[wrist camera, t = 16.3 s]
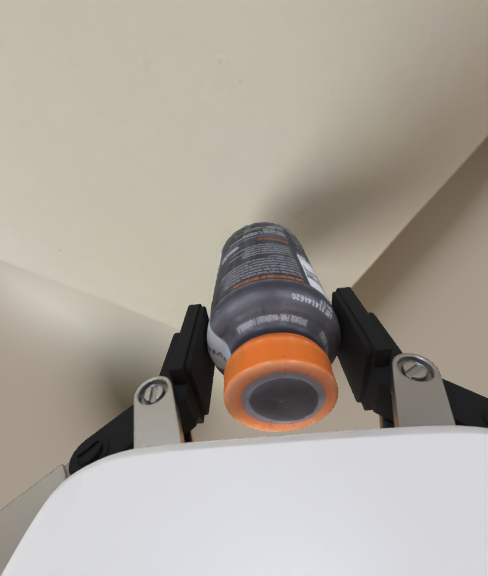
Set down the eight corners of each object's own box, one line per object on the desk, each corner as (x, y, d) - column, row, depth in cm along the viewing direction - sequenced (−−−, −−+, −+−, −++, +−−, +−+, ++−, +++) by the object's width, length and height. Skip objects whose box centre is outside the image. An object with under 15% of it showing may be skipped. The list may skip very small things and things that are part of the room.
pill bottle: (211, 283, 19) (177, 434, 9) (234, 208, 16) (217, 317, 7) (283, 303, 20) (319, 459, 10) (317, 235, 17) (411, 366, 7)
